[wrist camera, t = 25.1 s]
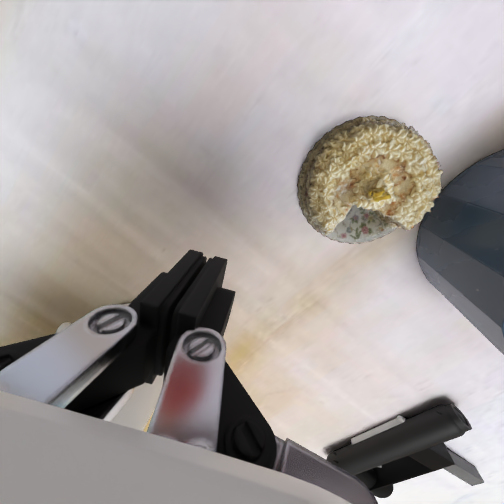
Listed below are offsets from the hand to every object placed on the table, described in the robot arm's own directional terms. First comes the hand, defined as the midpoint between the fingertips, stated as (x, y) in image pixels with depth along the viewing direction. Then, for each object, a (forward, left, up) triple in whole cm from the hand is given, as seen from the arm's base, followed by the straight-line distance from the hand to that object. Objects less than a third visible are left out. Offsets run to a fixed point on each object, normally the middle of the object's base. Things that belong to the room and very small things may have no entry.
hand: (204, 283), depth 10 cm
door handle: (+30, -27, -13) cm, 42 cm away
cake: (+8, +5, -13) cm, 16 cm away
